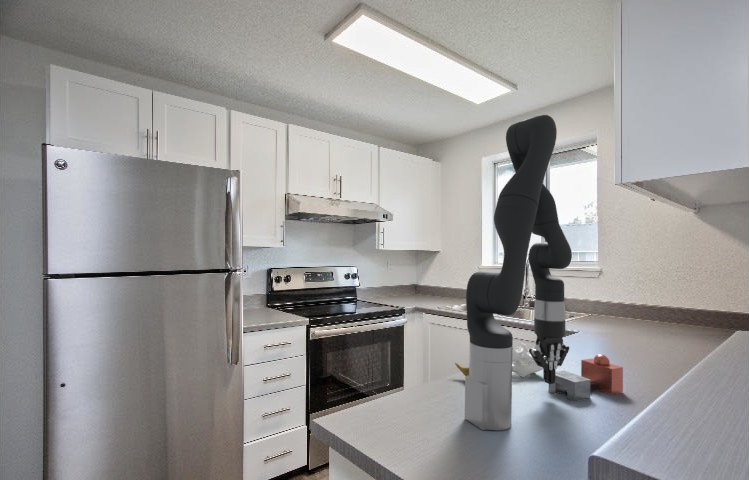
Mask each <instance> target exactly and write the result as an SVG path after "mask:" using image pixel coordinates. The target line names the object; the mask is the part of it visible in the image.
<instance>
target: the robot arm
mask: <svg viewBox="0 0 749 480" xmlns="http://www.w3.org/2000/svg"><path fill="white" fill-rule="evenodd" d="M557 132H558V130H557V125H556V122H555V120H554V118H553V117H551V116H550V115H548V114H540V115H536V116H532V117H530V118H527V119H523V120H521V121H518V122H515V123H512V124H511V125H510V126H509V127H508V128H507V130H506V134H505V141H506V148H507V151H508V155H509V158H510V161H511V163H512V166H513V169H514V174H513V175H512V176H511V178H509V180H508V181H507V182H506V184H505V185H504V186H503V188H502V189H501V191H500V193H499V195H498V197H497V202H496V205H495V210H494V213H493V224H494V228H495V231H496V233H497V235H498V238H499V239H500V242H501V245H502V249H503V259H502V260H503V261H502V267H501V269H500V272H496V271H495V272H494V271H476V272H474V273H473V274H471V276H470V277H469V279H468V281H467V285H466V291H465V298H466V299H465V300H466V301H465V302H466V303H465V304H466V326H467V332H468V334H469V359H468V361H469V363H468V368H469V376H464V377H465V378H464V379H465V380H464V382H465V383H464V385H465V386H464V419H465V420H466V421H468V422H470V423H471V424H473V425H474V426H476V427H477V428H479V429H480V430H481V431H482V430H483V431H484V430H489V431H503V430H504V431H505V430H508V429H510V428H511V427H512V417H513V416H512V415H513V413H512V412H513V411H512V410H513V408H512V406H513V404H512V403H513V402H512V401H513V397H512V396H513V371H512V366H513V363H512V349H513V348H514V347H513V346H514V345H513V344H514V343H513V341H514V339H513V338H514V337H513V333H512V332H511V331H510V330H509V329H508V328H506V327H504V326H502V325H501V324H500V323H499V322H498V321H497V320H496V318H495V317H494V315H501V316H506V317H509V316H512V315H514V314H515V313H516V312H517V310H518V309H519V308H520V304H521V300H522V298H523V297H522V296H523V290H524V284H525V283H524V282H525V277H526V276H525V275H526V265H527V259H528V263H529V267H530V271H531V274H532V278H533V281H534V285H535V287H534V288H535V289H534V294H535V295H534V296H535V297H534V298H535V299H534V306H533V307H534V309H533V313H534V315H533V327H534V328H533V332H534V334H535V335H536V340H535V346H534V347H533V348H531V347H530V348H528V351H529V353H530V354H531V356H532V357H533V359H534V361H535V362H536V364H537V365H538V366H540V367H543V369H542V370H543V382H544V383H546V384H548V385H549V384H553V383H555V372H556V370H557V369H558V367H562V365H563V363H564V361H565V359H566V357H567V355H568V353H569V351H570V346H568V345H565V344H564V339H563V338H565V336H566V305H565V282H564V281H563V280H562V279H560V278H558V277H555V276H553V275H552V274H551V271H550V269H553V270H563V269H567V267H569V266H570V264H571V262H572V259H573V253H572V248H571V246H570V244H569V242H568V239H567V238H566V235H565V234H564V231H563V229H562V226H561V225H560V222H559V221H560V220H559V215H558V210H557V206H556V200H555V198H554V196H553V194H552V193H551V191H550V190H549V189H548V187H547V186H546V185H545V184H544V181H545V176H546V174H547V169H548V166H549V164H550V162H551V159H552V156H553V152H554V149H555V145H556V142H557V135H558V134H557ZM532 234H533V235H536V236H539V237H541V238H543V239H544V240H545V242H542V241H541V242H540V241H539V242H535V243H534V244H532V245H531V246H530V242H531V237H532ZM529 248H530V249H529ZM527 257H528V258H527Z"/></svg>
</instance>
